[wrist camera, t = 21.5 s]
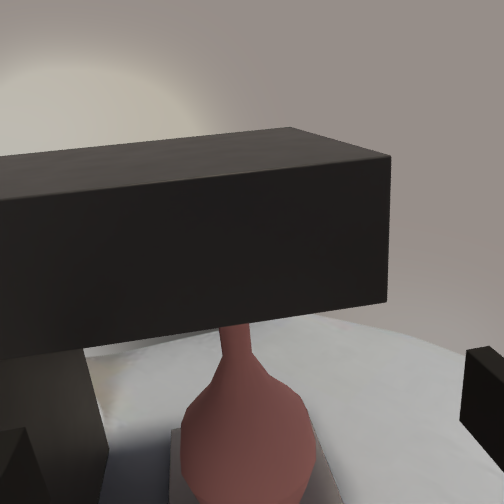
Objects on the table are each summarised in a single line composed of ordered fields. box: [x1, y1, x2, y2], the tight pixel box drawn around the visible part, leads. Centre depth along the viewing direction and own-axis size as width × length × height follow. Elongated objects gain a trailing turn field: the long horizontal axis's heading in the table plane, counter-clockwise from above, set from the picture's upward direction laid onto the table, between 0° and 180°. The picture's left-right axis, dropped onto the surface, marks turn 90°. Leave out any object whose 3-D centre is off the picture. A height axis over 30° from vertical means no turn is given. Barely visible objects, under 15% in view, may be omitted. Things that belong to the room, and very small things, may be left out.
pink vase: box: [180, 323, 316, 504], centre depth 23 cm, size 8×8×12 cm
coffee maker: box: [0, 127, 391, 504], centre depth 22 cm, size 17×13×21 cm
